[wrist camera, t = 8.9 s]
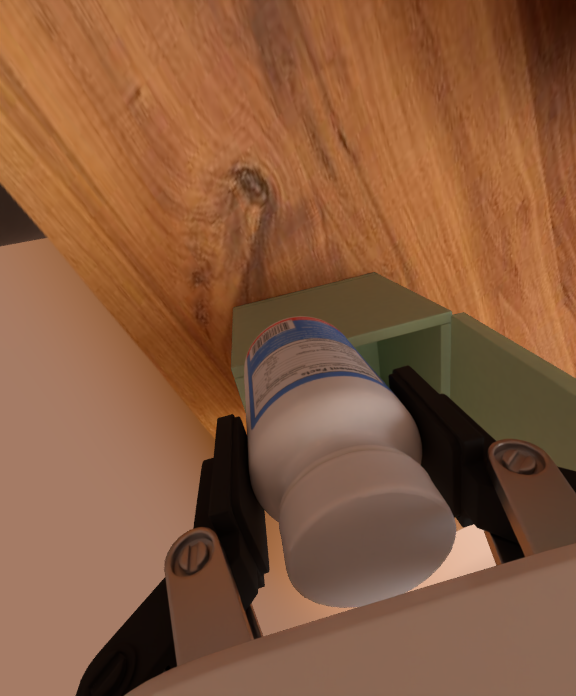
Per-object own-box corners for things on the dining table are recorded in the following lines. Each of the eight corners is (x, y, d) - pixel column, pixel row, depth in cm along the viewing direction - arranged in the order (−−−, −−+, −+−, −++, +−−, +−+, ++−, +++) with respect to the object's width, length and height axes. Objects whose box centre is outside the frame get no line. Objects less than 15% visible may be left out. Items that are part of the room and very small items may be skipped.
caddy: (263, 409, 37) (275, 503, 25) (232, 307, 31) (230, 368, 20) (384, 377, 37) (450, 455, 26) (374, 272, 32) (452, 310, 20)
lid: (668, 780, 12) (692, 776, 12) (869, 586, 6) (916, 578, 6) (448, 460, 26) (459, 458, 25) (450, 314, 20) (464, 311, 20)
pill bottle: (338, 411, 18) (440, 620, 9) (239, 407, 17) (241, 640, 8) (361, 316, 15) (526, 466, 7) (249, 306, 14) (268, 466, 6)
